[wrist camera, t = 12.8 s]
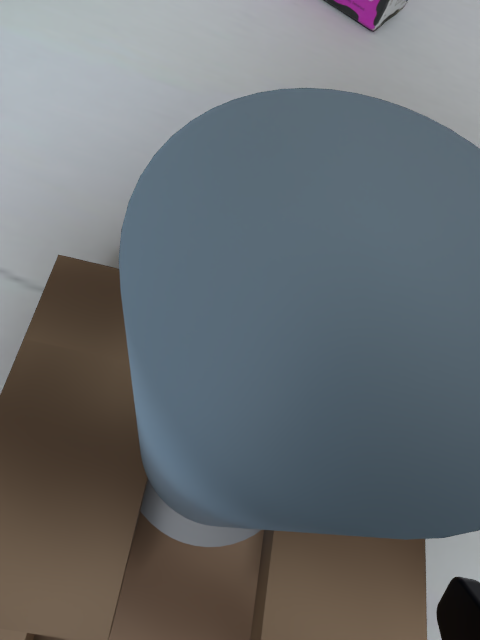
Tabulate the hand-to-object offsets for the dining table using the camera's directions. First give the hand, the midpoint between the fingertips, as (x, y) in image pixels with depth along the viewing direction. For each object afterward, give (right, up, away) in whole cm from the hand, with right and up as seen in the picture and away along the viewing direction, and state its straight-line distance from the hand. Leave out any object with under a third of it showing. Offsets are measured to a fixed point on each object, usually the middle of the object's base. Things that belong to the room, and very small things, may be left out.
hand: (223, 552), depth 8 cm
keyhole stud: (-1, 0, +8) cm, 8 cm away
